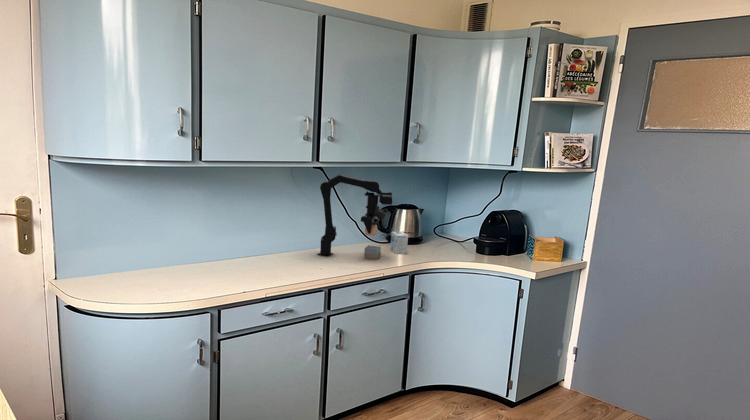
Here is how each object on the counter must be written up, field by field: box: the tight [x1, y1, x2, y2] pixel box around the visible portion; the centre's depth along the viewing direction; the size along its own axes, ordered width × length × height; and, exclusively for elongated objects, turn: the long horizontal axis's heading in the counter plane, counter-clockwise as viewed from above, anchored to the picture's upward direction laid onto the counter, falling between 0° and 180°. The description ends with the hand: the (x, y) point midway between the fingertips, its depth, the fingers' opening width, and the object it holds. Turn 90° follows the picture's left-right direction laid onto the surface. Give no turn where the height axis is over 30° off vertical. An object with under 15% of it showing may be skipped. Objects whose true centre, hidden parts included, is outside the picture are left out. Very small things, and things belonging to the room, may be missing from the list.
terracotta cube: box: [364, 224, 378, 237], centre depth 268 cm, size 5×5×5 cm
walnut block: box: [363, 251, 382, 261], centre depth 268 cm, size 7×7×3 cm
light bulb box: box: [389, 231, 409, 255], centre depth 285 cm, size 11×7×11 cm, turn 17°
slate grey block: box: [364, 244, 382, 255], centre depth 268 cm, size 7×7×3 cm
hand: (370, 232), depth 268 cm, fingers closed on terracotta cube, 5 cm apart
